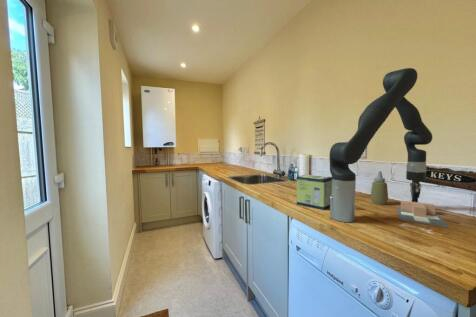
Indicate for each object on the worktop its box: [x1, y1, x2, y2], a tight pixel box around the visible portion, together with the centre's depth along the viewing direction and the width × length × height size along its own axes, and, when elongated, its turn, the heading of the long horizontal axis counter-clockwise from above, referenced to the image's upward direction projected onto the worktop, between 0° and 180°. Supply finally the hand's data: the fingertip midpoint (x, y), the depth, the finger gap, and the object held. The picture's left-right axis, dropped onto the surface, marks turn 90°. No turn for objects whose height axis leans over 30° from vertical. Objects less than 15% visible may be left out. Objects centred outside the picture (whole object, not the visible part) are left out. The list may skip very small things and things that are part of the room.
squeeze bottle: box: [369, 170, 389, 206], centre depth 113 cm, size 8×8×18 cm
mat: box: [396, 206, 450, 229], centre depth 93 cm, size 15×23×1 cm, turn 146°
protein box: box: [296, 174, 332, 211], centre depth 112 cm, size 10×16×16 cm
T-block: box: [400, 200, 436, 217], centre depth 96 cm, size 12×11×4 cm
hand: (414, 204), depth 105 cm, fingers closed
